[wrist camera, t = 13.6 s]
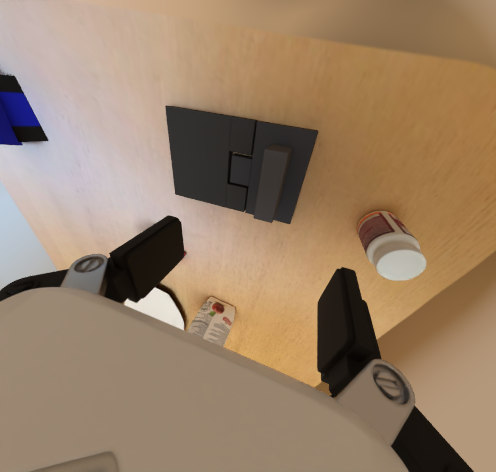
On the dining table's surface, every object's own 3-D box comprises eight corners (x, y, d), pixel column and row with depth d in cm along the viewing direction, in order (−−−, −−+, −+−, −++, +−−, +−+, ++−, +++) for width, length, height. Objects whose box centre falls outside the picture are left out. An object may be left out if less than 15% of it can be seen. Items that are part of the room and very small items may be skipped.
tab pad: (238, 117, 23) (218, 117, 18) (318, 130, 21) (319, 134, 16) (231, 204, 29) (215, 221, 25) (291, 219, 28) (286, 241, 23)
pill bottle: (353, 239, 26) (366, 280, 20) (360, 209, 24) (378, 244, 17) (392, 241, 25) (420, 287, 18) (403, 210, 23) (442, 249, 16)
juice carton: (208, 292, 44) (153, 383, 29) (240, 307, 44) (200, 408, 28) (204, 308, 49) (154, 394, 34) (233, 322, 48) (195, 416, 33)
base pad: (172, 106, 24) (165, 105, 23) (258, 120, 22) (255, 120, 21) (180, 191, 31) (175, 194, 30) (246, 208, 29) (243, 212, 28)
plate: (179, 284, 46) (174, 290, 45) (192, 338, 61) (189, 344, 60) (98, 261, 52) (92, 265, 51) (129, 315, 67) (124, 320, 66)
